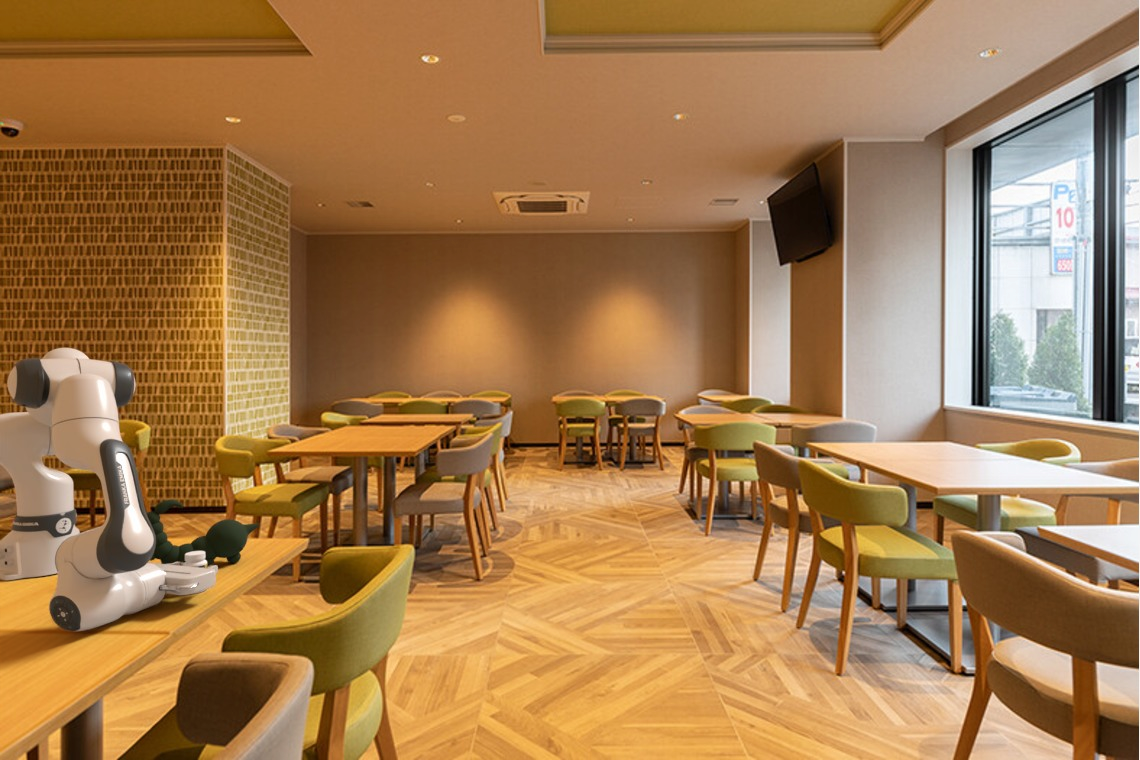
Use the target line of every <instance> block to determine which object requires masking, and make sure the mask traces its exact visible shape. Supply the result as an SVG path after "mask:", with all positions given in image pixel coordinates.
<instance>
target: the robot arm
mask: <svg viewBox="0 0 1140 760" xmlns="http://www.w3.org/2000/svg"><path fill="white" fill-rule="evenodd" d="M136 384H137V383H136V379H135V374H134V372H133V369H132V368H130V366H129V365H128V364H126V363H123V362H119V361H115V360H110V361H107V360H106V361H105V360H99V359H90V358H89V357H88V356H87V355H86V354H85V353H84V352H83V351H81V350H79V349H76V348H73V347H72V348H71V347H58V348H55V349H52V350H50V351H48V352H47V353H46V354H44V356H43V357H42V358H41V359H40V357H31V358H23V359H19V361H17V362H16V363H15V364H14V365H13V367H12V369H11V370H10V371H9V374H8V378H7V382H6V385H7V389H8V390H7V391H8V393H9V396H11V397H10V398H11V400H12V401H13V402H14V403H15V404H17V405H18V406H20V407H24V408H25V410H26V411H24V412H23V411H19V412H18V411H17V412H16V411H15V412H6V413H2V414H0V466H1V467H3V468H4V469H5V471H6V472H7V473H8V474H9V476H10V477H11V479H12V482H13V485H14V490H15V491H14V492H15V499H16V514H15V516H9V519H12V520H9V523H12V525H11V530H10V532H8V533H7V534H6V535H5V536H4V537H2V538H1V539H0V580H2V581H13V580H19V579H25V578H26V579H27V578H36V577H43V576H50V575H54V574H57V578H56V579H57V582H56V588H55V591H54V593H53V595H52V597H51V599H50V600H49V604H48V605H49V606H48V609H49V610H48V611H49V615H50V617H51V619H52V620H53V622H54V623H55V624H56V626H58V627H59V628H61V629H63V630H65V631H68V632H83V631H87V630H91V629H95V628H99V627H102V626H104V625H108V624H109V623H111V622H112V623H113V622H115V621H117V620H119V619H120V618H121V617H123V616H125V615H132V614H136V613H138V612H141V611H143V610H145V609H148V608H151V607H154V606H156V605H158V604H159V603H161V602H162V600H163V598H164V597H165V595H166V594H168V595H177V596H187V595H192V594H193V593H195V594H197V593H196V592H199V591H203V590H205V591H207V590H208V589H210V588H213V587H215V585H216V582H217V581H216V580H217V577H216V575H217V574H218V573H219V567H218V565H216V564H215V565H210V566H207V567H206V568H199V567H189V566H183V564H184V563H183V562H175V563H170V564H161V563H156V562H150V559H151V558H152V556H153V554H154V551H155V547H156V536H155V533H154V530H153V527H152V525H151V523H150V521H149V519H148V516H147V514H146V513H147V510H146V507H145V502H144V497H143V493H142V487H141V485H140V484H141V483H140V479H139V474H138V470H137V466H136V461H135V458H134V455H133V452H132V450H131V448H130V447H129V446H128V445H127V444H126V443H125V442H124V441H123V439H122V436H121V431H120V421H119V419H120V418H119V410H118V408H122V407H125V406H127V405H128V404H129V403H130V402H131V401H132V400H133V399H132V398H133V396H134V394H135V392H136V391H135V390H136ZM47 456H48V457H49V456H56V458H57V459H58V460H59V461H60V462H62V463H63V464H64V465H66V466H68V467H70V468H73V469H76V470H82V471H90V472H93V473H94V474H96V476H97V477H98V479H99V480H100V483H101V489H102V494H103V501H104V505H105V509H106V518H105V521H104V523H103V524H102V525H101V526H97V527H94V528H92V529H89V530H85V531H82V532H80V529H79V528H78V527H77V526H76V524H77V518H78V517H77V515H78V513H77V509H76V508H75V504H74V503H75V500H74V499H75V498H74V497H75V496H74V495H75V494H74V493H75V491H74V489H75V488H74V480H73V478H72V477H71V476H70V475H69V474H68V473H65V472H64V471H61V470H58V469H56V468H53V467H48V466H46V465H45V464H44V461H43V458H44V457H47ZM206 589H207V590H206ZM203 592H204V591H203ZM193 595H194V594H193Z"/></svg>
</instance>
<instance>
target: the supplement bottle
mask: <svg viewBox="0 0 1140 760" xmlns="http://www.w3.org/2000/svg"><path fill="white" fill-rule="evenodd" d="M205 557H206V555H205V551H192V552H188V553H186V554H185V561H186V562H185V563H184V564H183V566H189V567H199V568H206V567H207V561H206V560H205ZM207 590H208V589H206V590H203V591H199V592H196V593H193V595H194V594H199V593H200V594H201V593H203V592H205V591H207Z"/></svg>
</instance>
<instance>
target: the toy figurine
mask: <svg viewBox="0 0 1140 760" xmlns="http://www.w3.org/2000/svg"><path fill="white" fill-rule="evenodd" d="M173 507H174V508H175V507H176V508H179V509H183V507H184V505H183V503H182V502H180V501H179V500H176V499H165V500H162V501H161V502H159V503H157V504H156V506H155V507H154V511H147V512H146V514H147V516H148V519H149V521H150V523H151V525H152V527H153V530H154V533H155V536H156V547H155V551H154V554H153V556H152V558H151V559H150V560H149V562H150V561H155V559H156V560H159V561H160V564H170V563H175V562H183V563H185V562H186V561H185V554H186V553H188V552H192V551H205V555H206V557H205V560H206V561H207V566H210V565H214V563H215V560H216V558H221V559H226V561H227V562H228V563H230V564H236V563H239V561H240V560H241V557H242V556H241V552H242V551H243V550H244V548H245V547H246V545H247V542H248V537H249V535H250V534H251V533H252V532H253V531H255V530H256V529H257V528H258V527H260V523H249V524H247V523H246V524H243V523H242V522H240V521H238V520H236V519H231V518H230V519H229V518H228V519H227V518H226V519H222V520H219V521H217V522H215V523H214V524H213V525H211V526H210V528H208V530H207V532H206V534H205V535H202V536H199V537H197V538H195V539H194V540H192V541H191V542H190V543H189V542H187V543H183V544H180V545H179V546H178V545H176V544H174V545H173V543H172V542H171V541H170V540H168V535H167V533H166V532H165V531H164V524H163V523H162V522H161V515H162V514H164V513H166V512H167V511H168V510H169V509H171V508H173Z"/></svg>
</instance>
